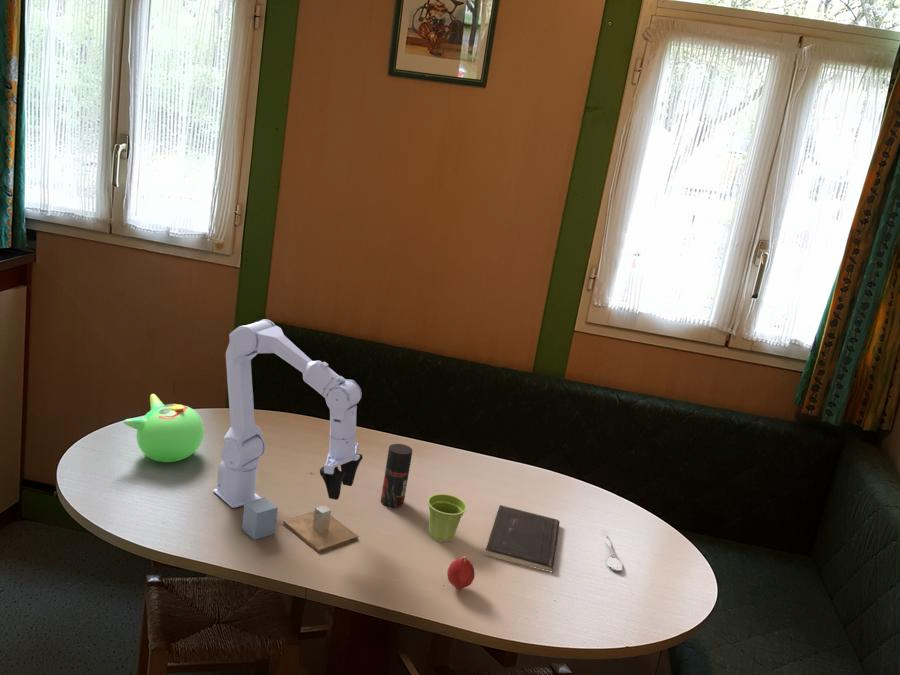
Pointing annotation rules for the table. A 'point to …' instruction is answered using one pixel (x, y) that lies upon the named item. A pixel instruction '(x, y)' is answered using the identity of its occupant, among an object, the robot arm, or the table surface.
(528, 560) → the hardcover book
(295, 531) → the wooden board
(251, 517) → the pale blue cuboid
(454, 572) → the onion
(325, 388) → the robot arm
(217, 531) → the table surface
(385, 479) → the deodorant
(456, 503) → the plant pot
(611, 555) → the spoon
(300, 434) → the table surface
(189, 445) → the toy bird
